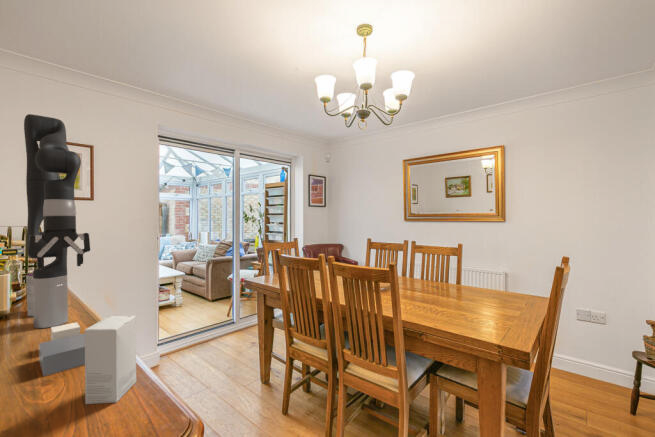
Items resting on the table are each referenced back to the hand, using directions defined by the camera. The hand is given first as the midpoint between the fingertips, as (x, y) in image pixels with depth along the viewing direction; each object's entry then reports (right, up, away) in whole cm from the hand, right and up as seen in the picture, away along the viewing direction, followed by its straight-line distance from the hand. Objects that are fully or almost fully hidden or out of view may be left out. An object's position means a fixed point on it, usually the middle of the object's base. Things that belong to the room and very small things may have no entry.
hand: (61, 267), depth 95 cm
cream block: (+4, -23, -3) cm, 24 cm away
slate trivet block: (+13, -23, -12) cm, 29 cm away
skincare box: (+35, -23, -28) cm, 50 cm away
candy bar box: (-32, -23, +31) cm, 50 cm away
